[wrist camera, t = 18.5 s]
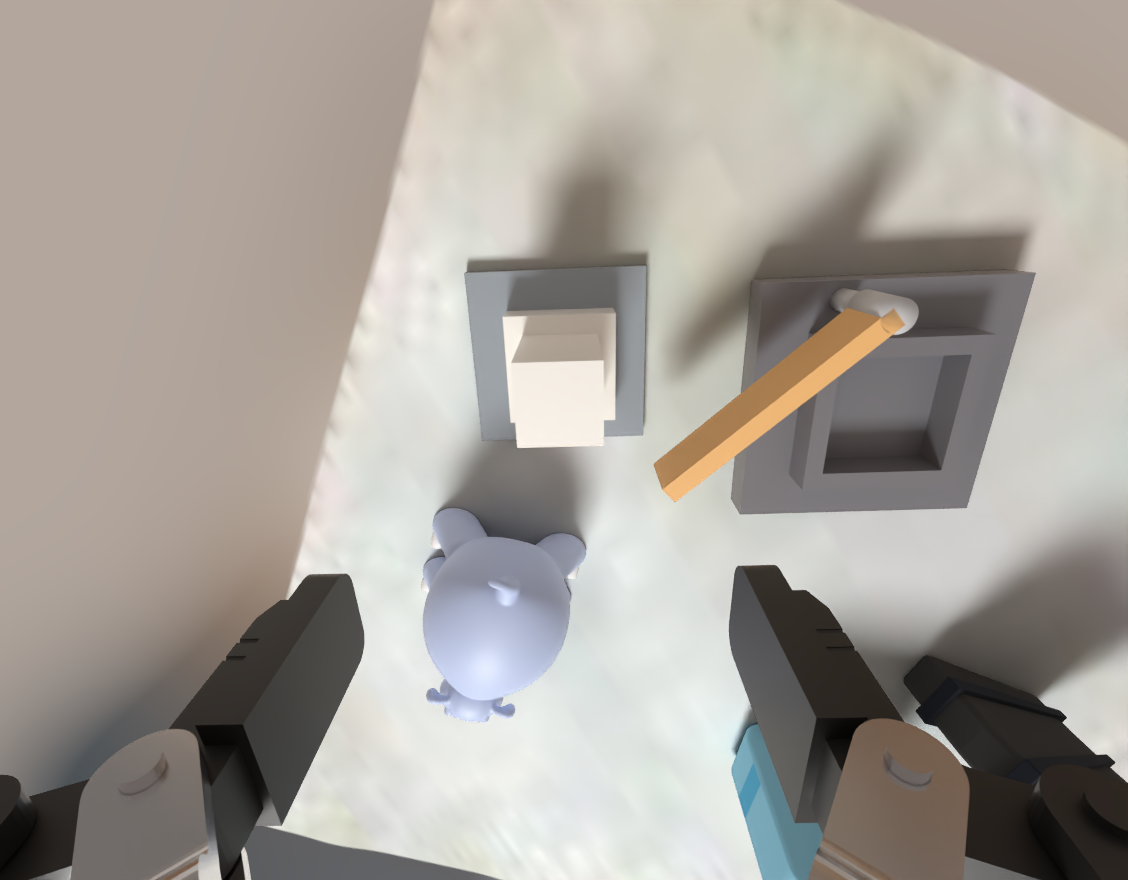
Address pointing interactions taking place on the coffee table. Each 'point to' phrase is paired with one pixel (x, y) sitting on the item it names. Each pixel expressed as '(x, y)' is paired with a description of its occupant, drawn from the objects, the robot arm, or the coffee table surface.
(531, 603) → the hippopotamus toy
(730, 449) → the orange rod with knob
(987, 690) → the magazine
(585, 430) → the plug
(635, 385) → the mat
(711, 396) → the coffee table surface
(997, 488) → the coffee table surface
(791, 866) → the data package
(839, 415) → the socket block
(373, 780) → the coffee table surface
